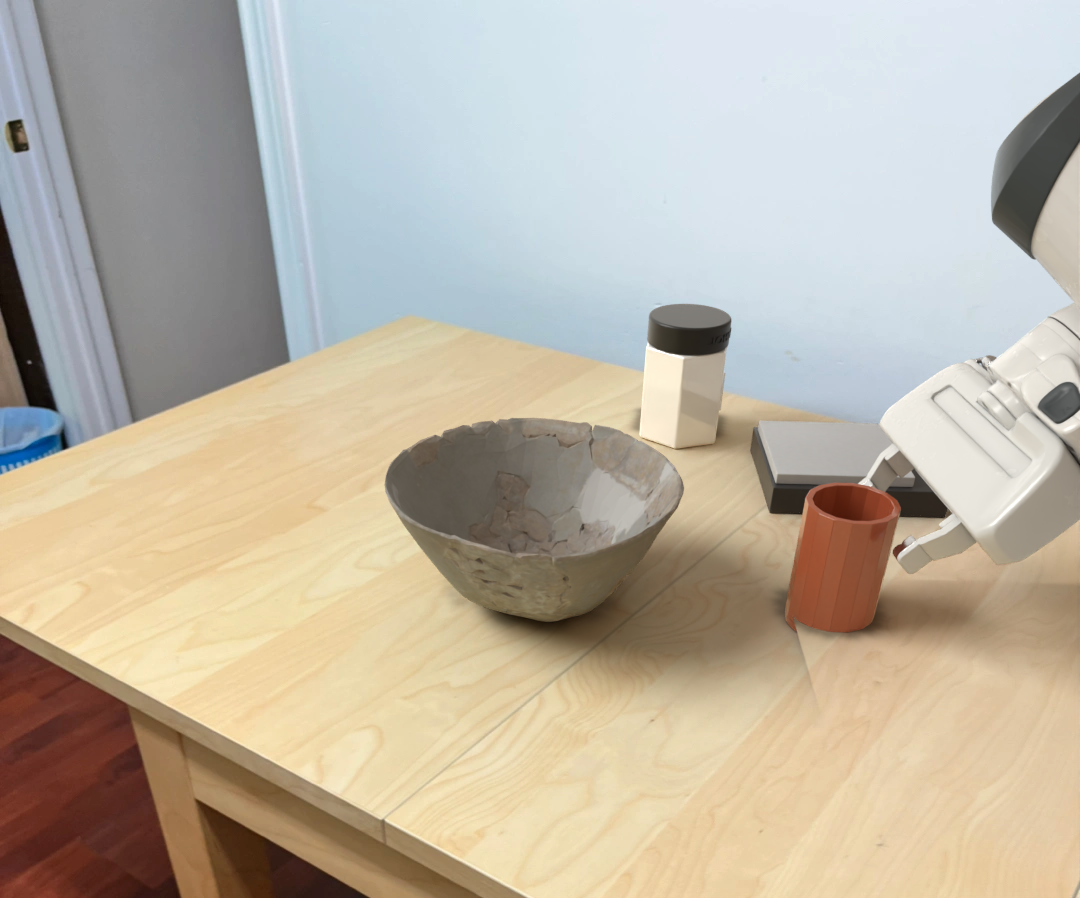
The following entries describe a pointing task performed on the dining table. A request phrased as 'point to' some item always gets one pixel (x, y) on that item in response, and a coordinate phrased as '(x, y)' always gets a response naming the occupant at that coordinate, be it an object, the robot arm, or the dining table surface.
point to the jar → (684, 374)
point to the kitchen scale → (829, 464)
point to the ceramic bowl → (534, 510)
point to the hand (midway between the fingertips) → (877, 532)
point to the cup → (841, 556)
